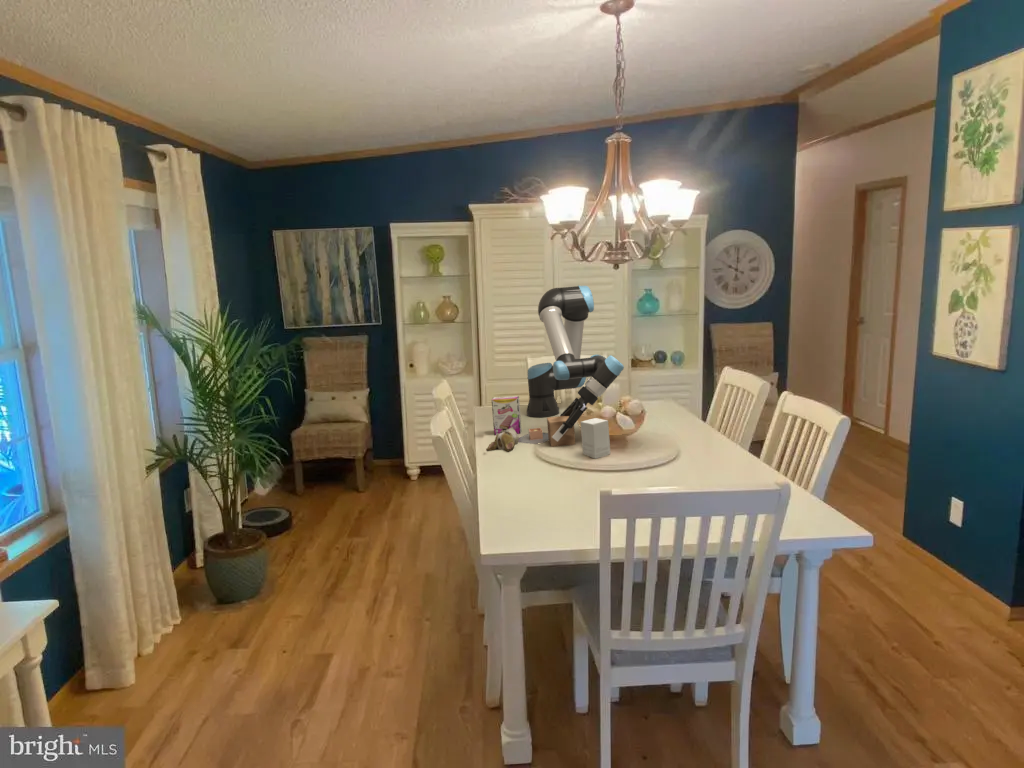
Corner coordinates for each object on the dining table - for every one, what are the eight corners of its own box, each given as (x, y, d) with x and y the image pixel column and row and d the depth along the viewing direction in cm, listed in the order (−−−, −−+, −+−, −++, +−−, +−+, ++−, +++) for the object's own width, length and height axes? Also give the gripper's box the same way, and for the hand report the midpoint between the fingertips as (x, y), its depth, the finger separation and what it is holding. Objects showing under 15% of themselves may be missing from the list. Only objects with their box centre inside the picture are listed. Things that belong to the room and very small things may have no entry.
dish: (541, 435, 280) (540, 427, 279) (542, 438, 275) (542, 430, 274) (529, 436, 279) (528, 429, 279) (530, 439, 274) (529, 431, 274)
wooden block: (571, 440, 271) (569, 415, 269) (575, 446, 262) (573, 420, 261) (548, 442, 271) (546, 417, 269) (551, 448, 262) (549, 422, 260)
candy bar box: (494, 438, 287) (490, 399, 284) (495, 435, 292) (492, 397, 289) (521, 436, 286) (517, 397, 283) (522, 433, 291) (519, 395, 288)
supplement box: (611, 454, 248) (609, 420, 246) (594, 459, 245) (592, 424, 243) (598, 451, 255) (596, 417, 253) (582, 455, 251) (579, 421, 249)
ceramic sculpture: (523, 423, 270) (508, 435, 257) (526, 444, 272) (510, 457, 259) (499, 423, 275) (482, 434, 262) (501, 443, 277) (485, 456, 263)
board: (532, 434, 288) (532, 431, 287) (561, 437, 279) (561, 434, 279) (510, 444, 275) (510, 441, 275) (539, 447, 267) (539, 444, 266)
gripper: (579, 380, 274) (542, 424, 276) (589, 390, 253) (549, 436, 254) (593, 392, 275) (556, 435, 277) (604, 403, 254) (564, 449, 256)
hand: (553, 436), depth 266 cm, fingers closed on wooden block, 9 cm apart
